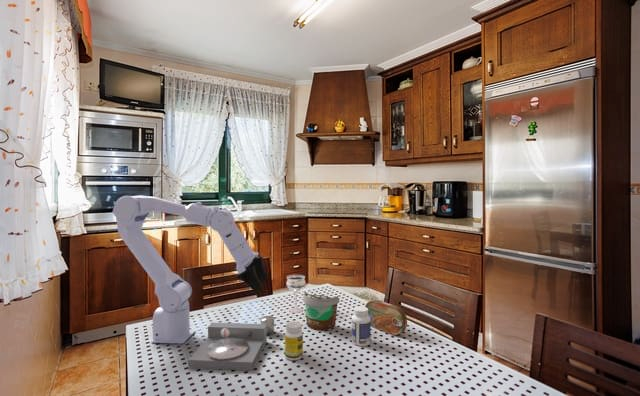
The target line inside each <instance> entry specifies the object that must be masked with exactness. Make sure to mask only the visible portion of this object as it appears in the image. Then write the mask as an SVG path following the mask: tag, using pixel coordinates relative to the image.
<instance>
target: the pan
mask: <svg viewBox="0 0 640 396" xmlns="http://www.w3.org/2000/svg"><path fill="white" fill-rule="evenodd" d="M247 351H248V342H247V341H245V340H244V339H240V338H225V339H220V340H217V341H215V342H213V343H211V344H210V345H209V346H208V347H207V356H208V357H209V358H211V359H214V360H231V359H235V358H238V357H240V356H242V355H244V354H245V353H246V352H247Z"/></svg>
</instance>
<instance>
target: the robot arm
mask: <svg viewBox="0 0 640 396" xmlns="http://www.w3.org/2000/svg"><path fill="white" fill-rule="evenodd" d="M152 212H153V213H154V212H162V213H166V214H169V215H170V214H171V215H176V216H180V217H183V218H184V219H185V221H186V222H187V223H191V224H195V225H198V226H204V227H206V228H207V227H208V228H211V229H212V231H213V230H214V231H215V232H217V234H218V235H219V237H220V238H221V241H222V242H223V244H224V245H225V247H226V248H227V251H228V252H229V254H230V255H231V257H232V259H233V260H234V262H235V264H236V267H235V270H236V271H237V274H236V275H235V276H236V277H237V279H238V280H241V281H242V282H244V283H245V284H246V285H247V286H248V287H249V288H250V289H251V290H252V291H254V292H255V293H257V292H259V291H261V290H263V287H262V284H261V283H265V282H266V281H267V280H268V275H267V273H266V269H265V265H264V259H263V256H262V255H260V254H259V251H257V252H256V251H254V250H253V249H252V248H251V246H250V245H249V243H248V241H247V240H246V238H245V236H244V234H243V232H241V230H240V228H239V227H238V226H237V224H236V222H235V221H234V215H233V213H232V212H231V211H229V210H228V209H225V208H222V209H219V207H217V206H213V207H210V206H208V205H203V203H202V202H200V201H197V202H192V203H190V204H188V205H186V204H181V203H178V202H175V201H172V200H171V201H170V200H168V199H164V198H161V197H157V196H147V195H142V194H140V195H132V196H131V195H122V196H121V197H119V198H117V200H116V201H115V204H114V206H113V209H112V213H113V215H114V217H115V218H116V219H115V220H116V225H117V232H118V235H119V237H120V238H121V240H122V241H123V242H124V244H125V245H126V246H127V248H128V250H129V251H130V252H131V253H132V255H133V256H134V257H135V258H136V260H137V261H138V263H139V264H140V266H141V267H142V268H143V269H144V271H145V272H146V273H147V275H148V276H149V277H150V279H151V280H152V281H153V283H154V294H155V295H156V297H157V299H158V305H159V307H157V308H156V309H155V311H154V312H153V314H152V315H153V316H152V339H151V341H150V342H151V343H152V344H153V343H154V344H155V343H156V344H158V343H159V344H180V345H182V344H185V342H186V341H187V340H188V339H190V337H191V336H193V334H194V333H196V329H190V302H189V299H190V297H191V296H192V293H193V289H192V286H191V283H189V282H188V281H185V280H184V279H183V278H182V277H181V275H179V274H177V273H174V272H173V271H172V270H171V268H170V267H169V266H168V264H167V263H166V262H165V260H164V259H163V257H162V256H161V254H159V252H158V250H157V248H155V247H154V245H153V244H152V243H151V241H150V240H149V238H148V237H147V235H146V234H145V233H144V231H143V230H142V228H143V226H144V223H145V220H146V219H147V217H149V215H150V213H152ZM259 255H260V256H259Z"/></svg>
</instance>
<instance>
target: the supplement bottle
mask: <svg viewBox="0 0 640 396" xmlns="http://www.w3.org/2000/svg"><path fill="white" fill-rule="evenodd" d="M302 326H303V325H302V323H301V322H299V321H290V322H287V323H286V326H285V329H286V331H285V333H284V356H285V357H284V358H285V359H287V360H289V361H298V360H300V359H301V358H303V355H304V333H303V330H302V329H303V327H302Z"/></svg>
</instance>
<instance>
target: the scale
mask: <svg viewBox="0 0 640 396" xmlns="http://www.w3.org/2000/svg"><path fill="white" fill-rule="evenodd" d="M225 338H240V339H244V340H245V341H247V342H248V351H247V352H246V353H245V354H244V355H242V356H240V357H238V358H235V359H231V360H214V359H211V358H209V357H208V356H207V347H208V346H209V345H210V344H211V343H213V342H215V341H217V340H220V339H225ZM267 338H268V336H267V324H261V323H239V322H238V323H236V322H235V323H234V322H211V323H210V324H209V325H208V327H207V338H206V339H205V340H204V342H202V344H201V345H200V346H199V347H198V348H197V349H196V350H195V352H194V353H193V354H191V356H190V357H189V358H188V359H187V368H188V369H203V370H204V369H208V370H229V371H231V370H232V371H253V370H254V368H255V366H256V364H257V361H258V360H259V358H260V356H261V354H262V352H263V349H264V347H265V346H266V343H267V341H268V339H267Z"/></svg>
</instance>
